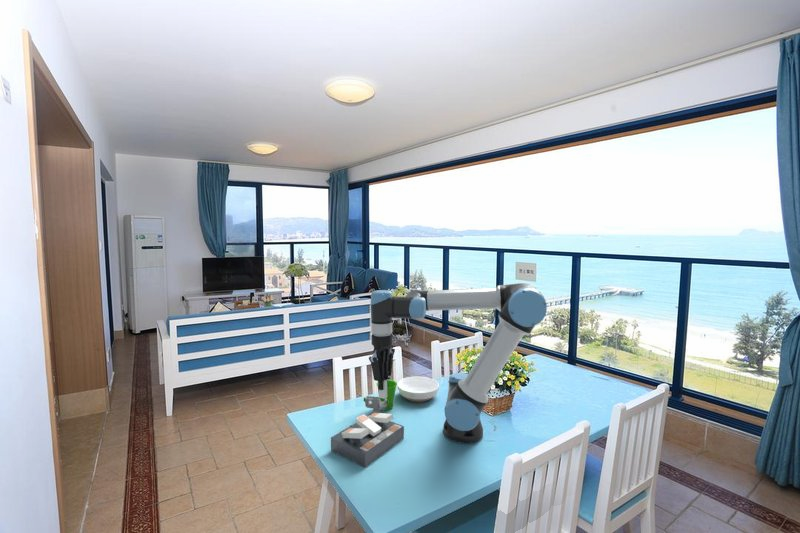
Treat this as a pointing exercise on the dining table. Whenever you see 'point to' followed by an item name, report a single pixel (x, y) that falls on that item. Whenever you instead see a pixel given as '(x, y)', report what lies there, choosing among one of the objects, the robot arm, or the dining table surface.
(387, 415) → the block
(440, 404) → the dining table surface
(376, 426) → the rocker
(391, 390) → the cup
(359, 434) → the block
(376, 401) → the mechanical component
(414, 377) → the bowl
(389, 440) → the console
